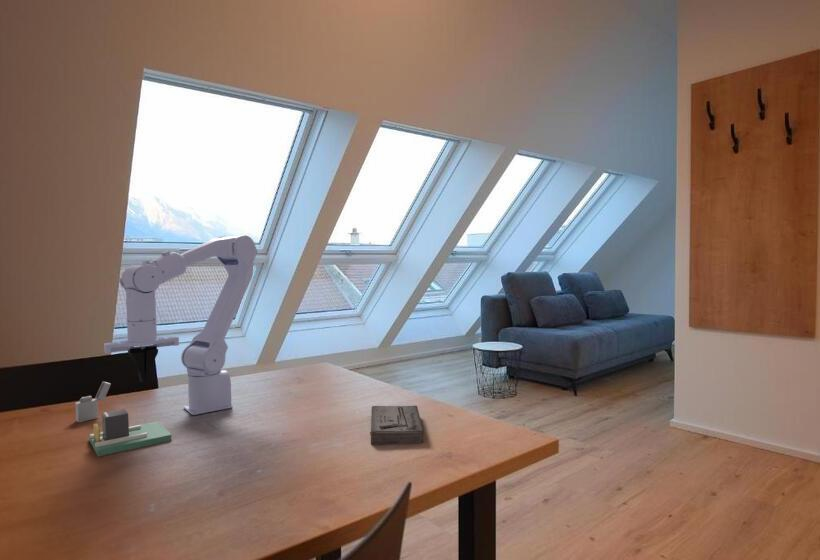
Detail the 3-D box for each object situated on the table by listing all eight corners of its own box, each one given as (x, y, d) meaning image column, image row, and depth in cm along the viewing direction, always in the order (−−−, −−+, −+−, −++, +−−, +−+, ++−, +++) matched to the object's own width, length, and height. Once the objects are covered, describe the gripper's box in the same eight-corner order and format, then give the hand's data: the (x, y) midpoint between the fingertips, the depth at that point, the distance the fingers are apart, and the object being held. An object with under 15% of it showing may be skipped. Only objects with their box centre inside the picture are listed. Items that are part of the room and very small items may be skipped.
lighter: (78, 422, 117) (77, 387, 117) (75, 421, 118) (74, 386, 118) (112, 414, 123) (110, 381, 122) (109, 413, 124) (107, 380, 123)
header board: (158, 426, 114) (157, 407, 114) (171, 440, 105) (170, 420, 105) (89, 440, 106) (88, 420, 106) (97, 456, 97) (96, 434, 97)
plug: (125, 432, 107) (124, 408, 106) (129, 438, 103) (128, 413, 103) (102, 437, 104) (101, 412, 104) (106, 442, 101) (105, 417, 101)
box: (417, 417, 120) (417, 404, 120) (424, 445, 102) (424, 430, 102) (370, 418, 119) (370, 405, 119) (370, 446, 102) (370, 431, 101)
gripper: (172, 315, 121) (174, 373, 122) (100, 321, 112) (103, 383, 113) (180, 318, 115) (182, 378, 116) (106, 324, 106) (108, 389, 107)
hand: (144, 381), depth 114 cm, fingers closed
